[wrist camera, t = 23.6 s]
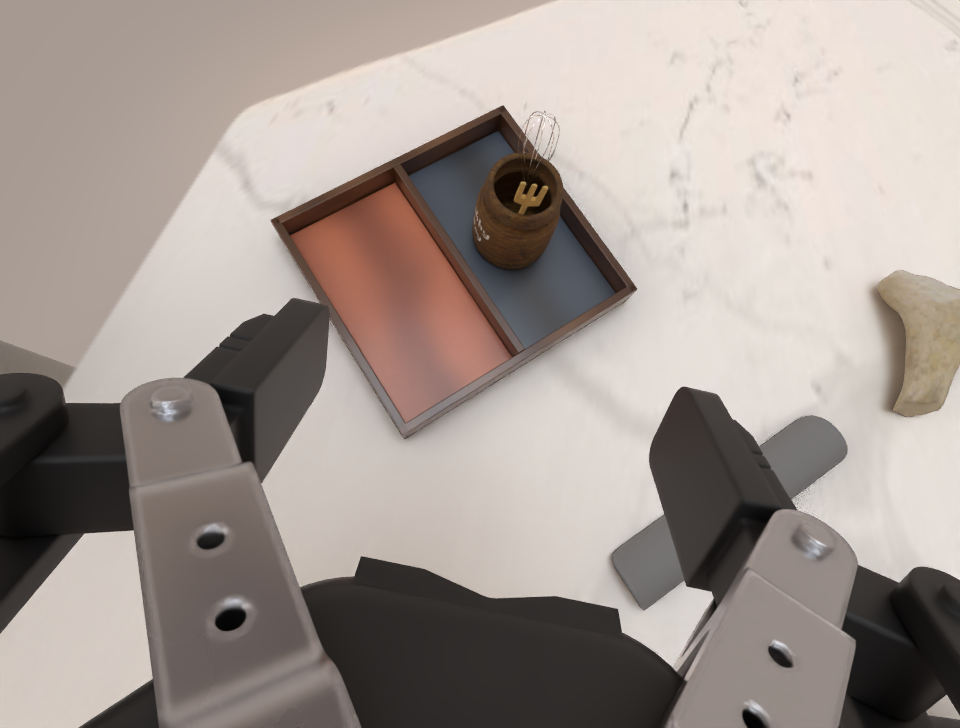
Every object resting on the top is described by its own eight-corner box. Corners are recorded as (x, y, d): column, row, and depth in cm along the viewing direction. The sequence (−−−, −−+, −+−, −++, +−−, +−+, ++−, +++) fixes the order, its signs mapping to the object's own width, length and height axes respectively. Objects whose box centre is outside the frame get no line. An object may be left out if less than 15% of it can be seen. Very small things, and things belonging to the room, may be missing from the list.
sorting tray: (404, 439, 37) (402, 435, 34) (279, 237, 40) (269, 220, 37) (625, 301, 41) (638, 288, 39) (499, 127, 44) (503, 104, 41)
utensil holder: (551, 209, 42) (598, 99, 30) (541, 282, 40) (588, 195, 28) (477, 195, 41) (496, 78, 30) (465, 268, 40) (480, 175, 28)
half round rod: (841, 460, 40) (860, 458, 38) (639, 613, 36) (649, 619, 34) (806, 412, 40) (823, 408, 39) (603, 557, 36) (612, 560, 35)
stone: (866, 278, 44) (920, 253, 39) (936, 287, 44) (996, 263, 40) (881, 413, 41) (940, 403, 36) (954, 420, 41) (1022, 411, 37)
